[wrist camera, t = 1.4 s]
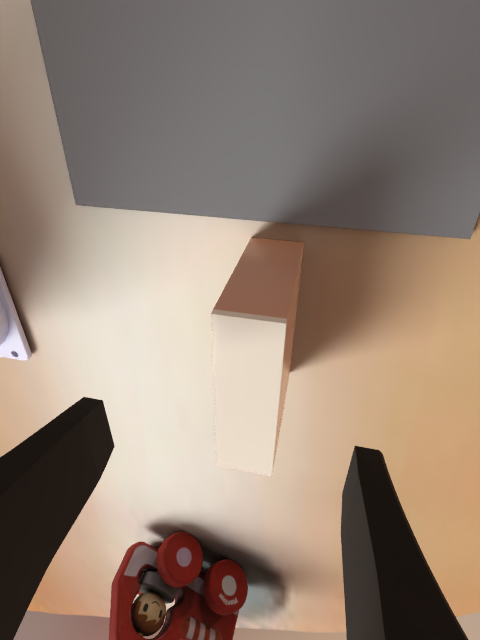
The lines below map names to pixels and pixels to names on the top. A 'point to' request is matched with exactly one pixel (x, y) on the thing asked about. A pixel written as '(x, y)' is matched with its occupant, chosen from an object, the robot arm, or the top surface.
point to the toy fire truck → (175, 593)
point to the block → (254, 353)
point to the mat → (272, 109)
